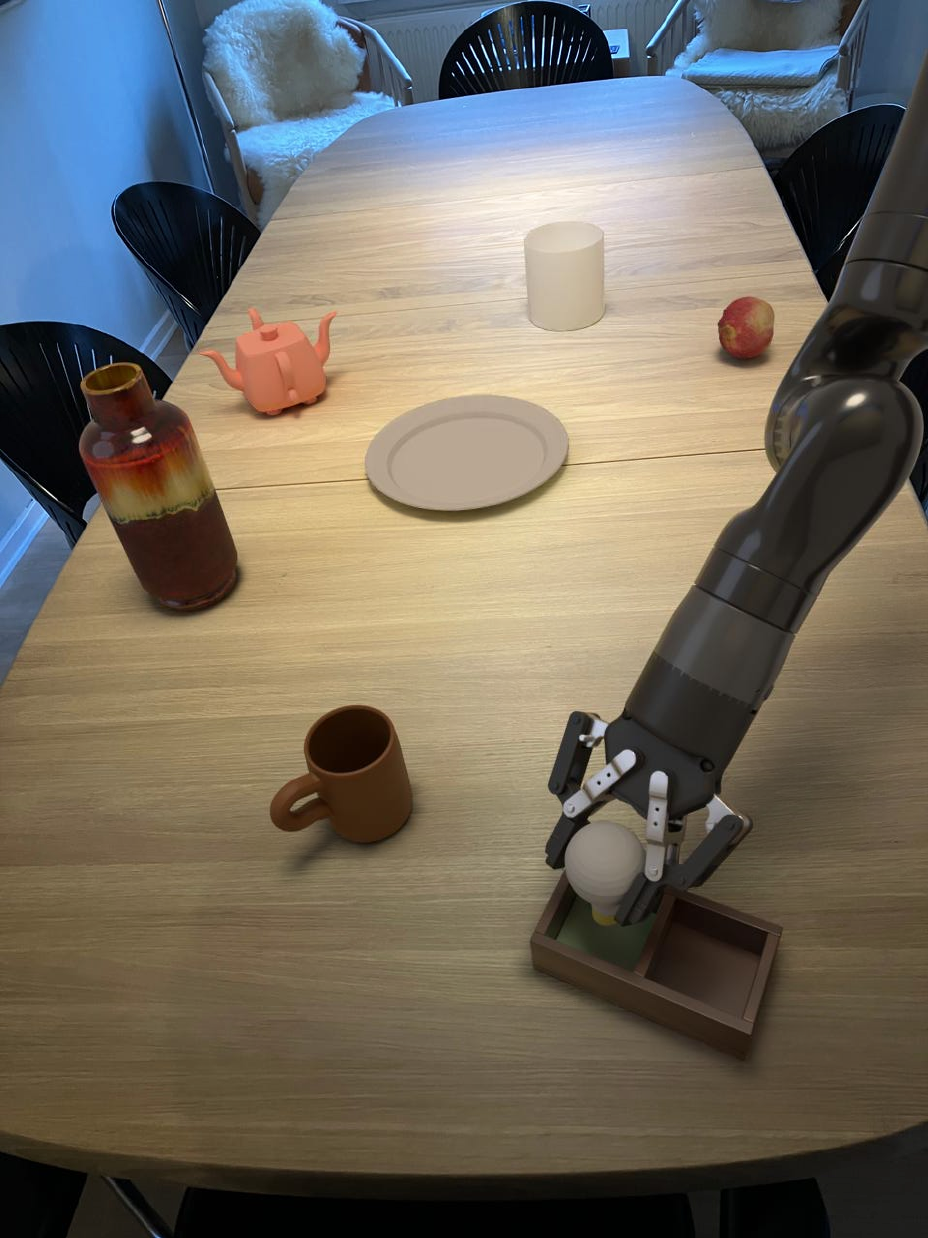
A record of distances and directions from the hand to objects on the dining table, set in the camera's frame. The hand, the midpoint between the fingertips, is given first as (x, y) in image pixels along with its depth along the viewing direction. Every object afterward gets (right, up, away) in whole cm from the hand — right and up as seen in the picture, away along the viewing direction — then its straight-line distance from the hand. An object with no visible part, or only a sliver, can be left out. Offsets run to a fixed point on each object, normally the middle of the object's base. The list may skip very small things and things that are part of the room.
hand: (589, 892), depth 62 cm
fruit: (+30, +55, +66) cm, 91 cm away
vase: (-39, +22, +43) cm, 62 cm away
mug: (-18, +1, +17) cm, 24 cm away
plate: (-8, +38, +55) cm, 67 cm away
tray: (+5, -6, +5) cm, 10 cm away
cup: (+8, +66, +81) cm, 105 cm away
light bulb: (+2, -3, +5) cm, 6 cm away
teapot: (-35, +51, +73) cm, 96 cm away
